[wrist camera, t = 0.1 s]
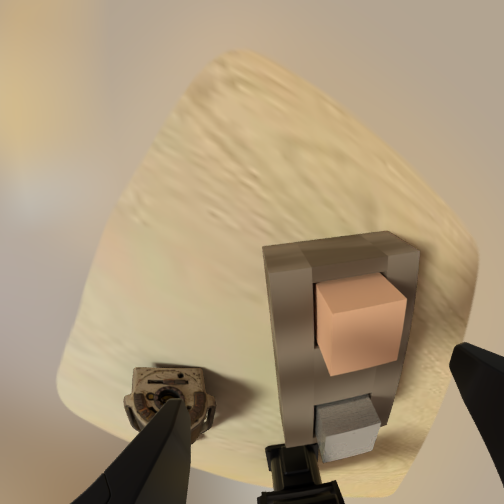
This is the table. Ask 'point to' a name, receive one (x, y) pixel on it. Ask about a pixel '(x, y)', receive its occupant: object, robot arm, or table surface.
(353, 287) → the terracotta plug
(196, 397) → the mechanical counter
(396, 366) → the plug panel
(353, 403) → the aluminium plug
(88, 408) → the table surface
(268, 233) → the table surface
